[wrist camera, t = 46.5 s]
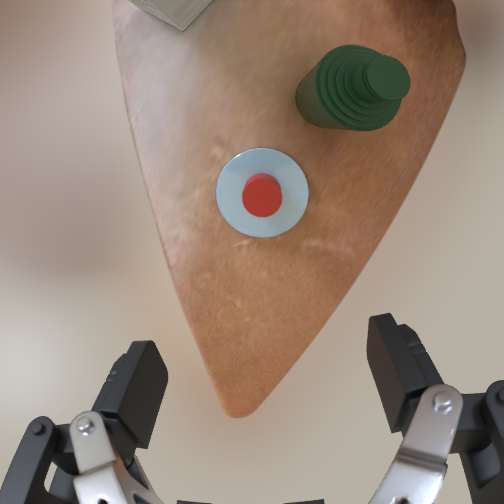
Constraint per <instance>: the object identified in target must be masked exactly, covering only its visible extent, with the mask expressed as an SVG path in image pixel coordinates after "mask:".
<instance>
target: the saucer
mask: <svg viewBox="0 0 504 504" xmlns="http://www.w3.org/2000/svg"><path fill="white" fill-rule="evenodd" d="M259 173H265V174H269V175H271V176H274V178H275V179H276V180H277V181H278V183H279V184H280V187H281V192H282V198H283V200H282V204H281V206H280V208H279V210H278V211H277V212H276V213H275V214H273V215H271V216H268V217H256V216H254V215H252V214H250V213H249V212H248V211H247V210H246V209H245V207H244V205H243V202H242V192H243V189H244V187H245V184H246V181H247V180H248V179H249V178H250V177H252V176H253V175H254V174H259ZM216 198H217V204H218V207H219V210H220V212H221V214H222V215H223V217H224V218H225V220H226V221H227V222H228V223H229V224H230V225H231V226H232V227H233V228H235V229H236V230H237V231H239V232H241V233H243V234H245V235H248V236H252V237H259V238H266V237H273V236H277V235H280V234H282V233H284V232H286V231H288V230H289V229H291V228H292V227H293V226H294V225H295V224H296V223H297V222H298V221H299V220H300V219H301V217H302V216H303V214H304V212H305V210H306V207H307V203H308V198H309V188H308V183H307V180H306V177H305V175H304V173H303V171H302V169H301V168H300V166H299V165H298V164H297V163H296V162H295V161H294V160H293V159H292V158H291V157H289V156H288V155H286V154H285V153H283V152H280V151H278V150H275V149H270V148H254V149H250V150H247V151H244V152H242V153H240V154H238V155H237V156H235V157H234V158H233V159H231V160H230V161H229V162H228V163H227V165H226V166H225V167H224V169H223V170H222V172H221V174H220V176H219V179H218V182H217V187H216Z"/></svg>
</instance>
